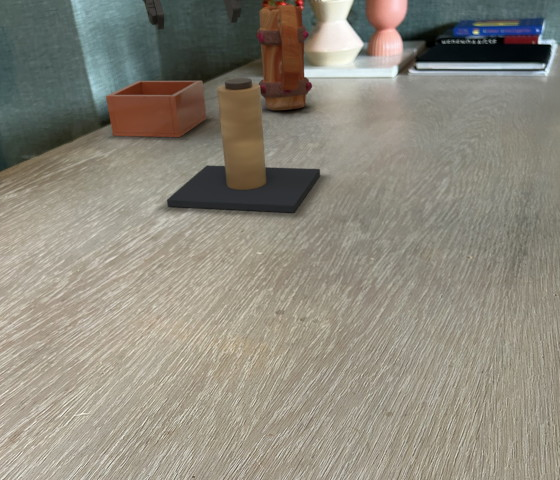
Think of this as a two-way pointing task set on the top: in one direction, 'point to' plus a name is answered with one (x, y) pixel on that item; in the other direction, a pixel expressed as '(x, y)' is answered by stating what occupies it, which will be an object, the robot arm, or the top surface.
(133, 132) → the terracotta open box
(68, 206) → the top surface
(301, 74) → the mug
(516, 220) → the top surface
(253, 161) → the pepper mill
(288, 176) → the mat
